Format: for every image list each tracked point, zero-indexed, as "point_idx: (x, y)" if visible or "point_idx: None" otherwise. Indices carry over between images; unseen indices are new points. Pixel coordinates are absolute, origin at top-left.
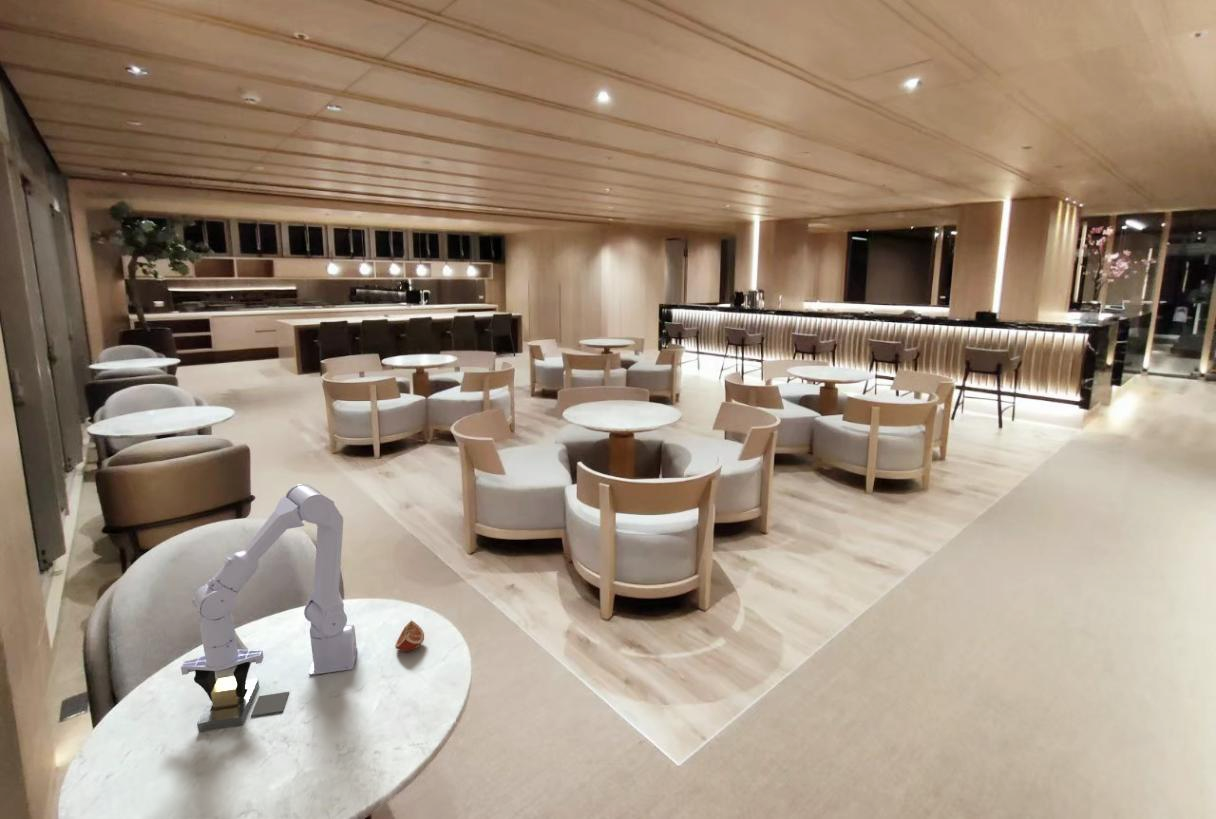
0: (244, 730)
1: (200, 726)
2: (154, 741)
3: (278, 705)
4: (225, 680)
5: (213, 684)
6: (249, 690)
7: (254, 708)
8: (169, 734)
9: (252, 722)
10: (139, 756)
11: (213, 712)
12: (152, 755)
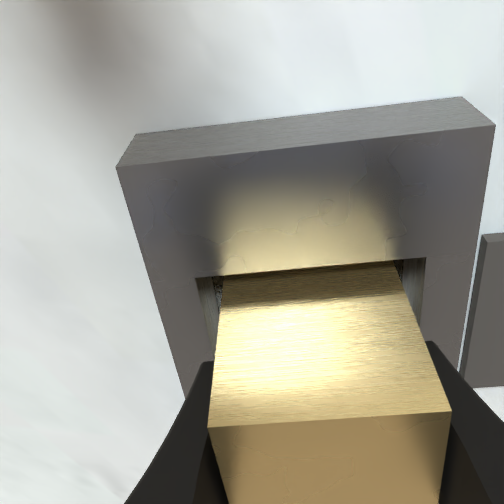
0: None
1: None
2: (37, 451)
3: None
4: (302, 457)
5: (215, 500)
6: (442, 277)
7: (475, 345)
8: (75, 427)
9: None
10: (42, 500)
11: None
12: (93, 501)
